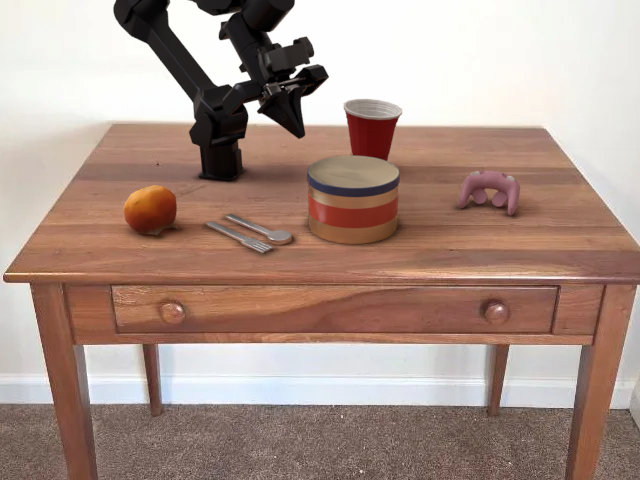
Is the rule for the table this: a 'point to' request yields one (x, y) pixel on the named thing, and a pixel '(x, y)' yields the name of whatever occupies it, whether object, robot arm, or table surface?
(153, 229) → the fruit
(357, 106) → the plastic cup
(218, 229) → the fork
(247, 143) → the table surface
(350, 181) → the tin
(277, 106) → the robot arm
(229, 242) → the table surface
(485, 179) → the video game controller
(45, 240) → the table surface
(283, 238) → the spoon
